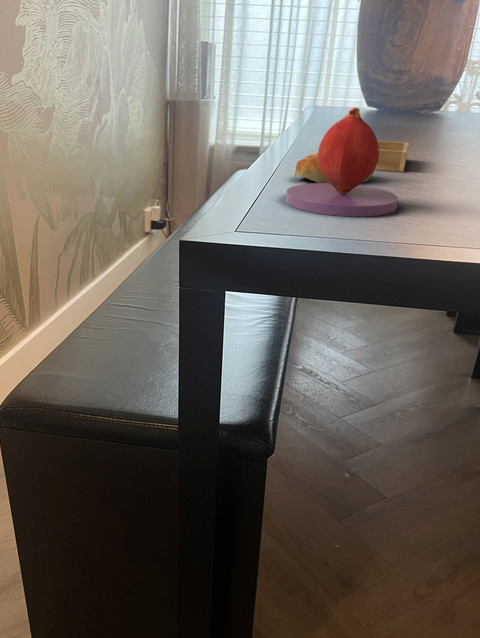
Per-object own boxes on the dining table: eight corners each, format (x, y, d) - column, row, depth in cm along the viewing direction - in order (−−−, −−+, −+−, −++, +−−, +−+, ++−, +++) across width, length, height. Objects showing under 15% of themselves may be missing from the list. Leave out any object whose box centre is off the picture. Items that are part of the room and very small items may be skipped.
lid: (370, 192, 67) (372, 182, 66) (416, 216, 57) (418, 205, 57) (273, 192, 65) (274, 183, 65) (303, 217, 56) (305, 206, 55)
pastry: (317, 187, 68) (321, 151, 66) (280, 178, 73) (283, 144, 72) (377, 181, 73) (382, 147, 71) (338, 172, 78) (342, 141, 76)
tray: (335, 155, 91) (337, 137, 89) (405, 161, 88) (409, 142, 87) (325, 165, 82) (327, 146, 81) (403, 172, 79) (406, 151, 78)
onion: (305, 188, 63) (314, 104, 59) (357, 187, 64) (369, 104, 60) (326, 200, 58) (337, 109, 54) (382, 199, 59) (396, 110, 55)
